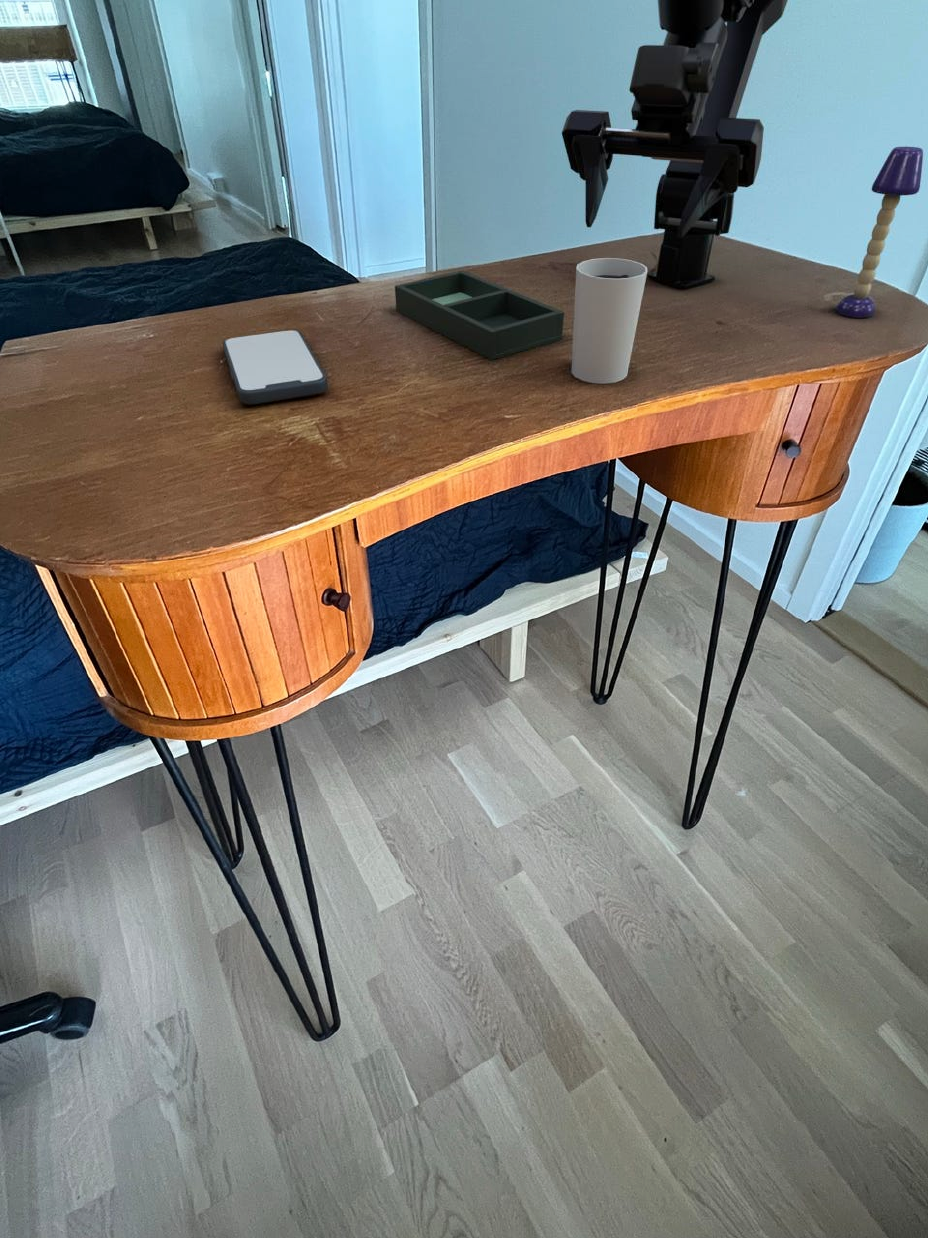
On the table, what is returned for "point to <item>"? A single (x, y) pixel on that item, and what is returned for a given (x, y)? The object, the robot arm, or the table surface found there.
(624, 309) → the white cup
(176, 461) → the table surface
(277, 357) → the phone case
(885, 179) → the toy lamp
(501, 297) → the tray
